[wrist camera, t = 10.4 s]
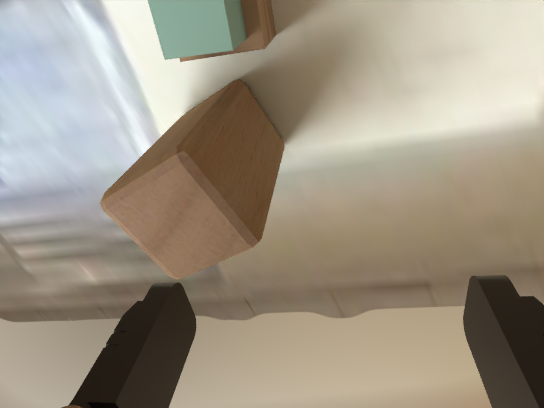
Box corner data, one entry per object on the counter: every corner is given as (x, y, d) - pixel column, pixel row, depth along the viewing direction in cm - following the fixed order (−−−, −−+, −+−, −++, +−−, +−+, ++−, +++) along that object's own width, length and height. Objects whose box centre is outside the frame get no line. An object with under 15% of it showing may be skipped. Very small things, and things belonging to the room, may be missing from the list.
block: (288, 144, 45) (264, 247, 28) (226, 178, 48) (173, 286, 32) (242, 74, 41) (182, 145, 24) (178, 117, 45) (89, 204, 28)
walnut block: (262, -57, 34) (246, -64, 27) (275, 35, 38) (264, 48, 31) (184, -40, 35) (151, -42, 29) (205, 46, 40) (180, 61, 33)
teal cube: (234, -37, 28) (216, -38, 24) (246, 38, 31) (232, 50, 27) (170, -25, 29) (140, -24, 25) (187, 46, 32) (164, 59, 28)
